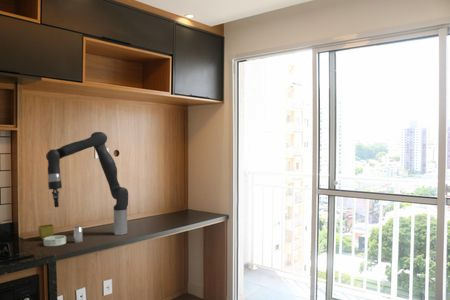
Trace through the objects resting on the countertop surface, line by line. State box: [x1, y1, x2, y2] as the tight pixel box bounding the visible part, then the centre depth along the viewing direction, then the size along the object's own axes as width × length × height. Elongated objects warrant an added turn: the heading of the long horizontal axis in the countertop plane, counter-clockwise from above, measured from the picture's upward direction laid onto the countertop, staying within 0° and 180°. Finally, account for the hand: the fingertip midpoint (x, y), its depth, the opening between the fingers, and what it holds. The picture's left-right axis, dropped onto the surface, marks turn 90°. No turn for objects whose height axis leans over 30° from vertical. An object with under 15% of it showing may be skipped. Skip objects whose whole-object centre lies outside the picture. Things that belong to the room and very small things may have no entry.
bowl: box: [43, 234, 67, 247], centre depth 234 cm, size 13×13×4 cm
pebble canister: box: [73, 225, 83, 244], centre depth 239 cm, size 5×5×10 cm
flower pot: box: [37, 224, 55, 241], centre depth 248 cm, size 9×9×9 cm
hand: (56, 207), depth 230 cm, fingers open, 8 cm apart
